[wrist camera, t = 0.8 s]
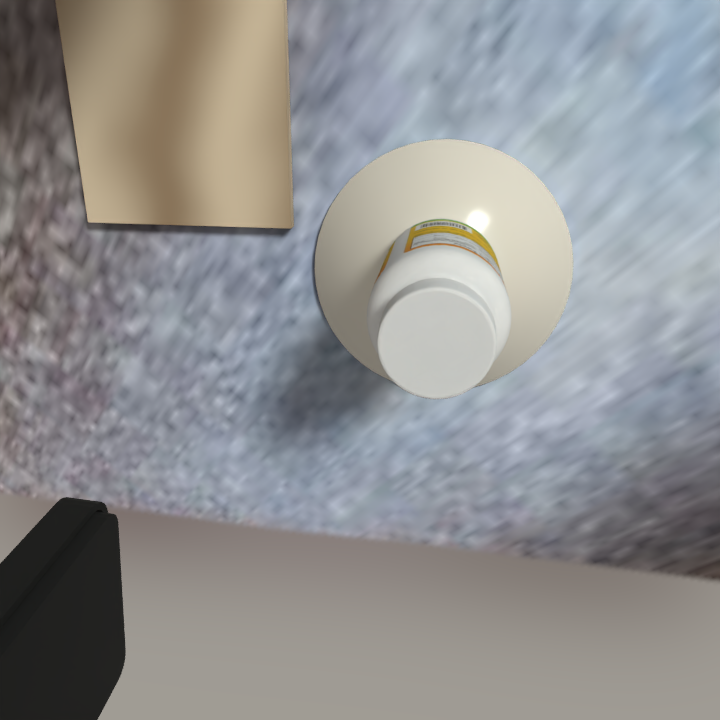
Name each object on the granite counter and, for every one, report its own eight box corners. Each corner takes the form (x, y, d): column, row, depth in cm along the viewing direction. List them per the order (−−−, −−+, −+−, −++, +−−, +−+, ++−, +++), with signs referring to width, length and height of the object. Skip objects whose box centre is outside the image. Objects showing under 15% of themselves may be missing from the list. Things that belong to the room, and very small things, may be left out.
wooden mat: (286, -16, 27) (282, -18, 26) (293, 226, 31) (290, 228, 30) (61, -12, 28) (53, -15, 28) (94, 220, 32) (88, 222, 31)
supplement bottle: (429, 349, 32) (421, 447, 23) (360, 264, 31) (322, 331, 22) (522, 284, 30) (552, 361, 21) (452, 191, 29) (452, 231, 20)
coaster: (589, 140, 28) (590, 141, 28) (556, 396, 32) (556, 398, 32) (312, 137, 29) (311, 137, 29) (317, 382, 34) (316, 384, 33)
